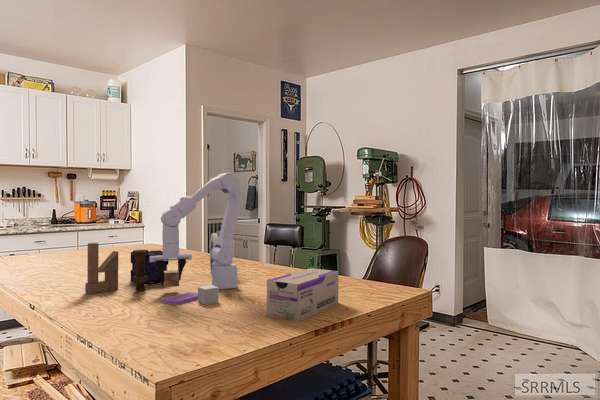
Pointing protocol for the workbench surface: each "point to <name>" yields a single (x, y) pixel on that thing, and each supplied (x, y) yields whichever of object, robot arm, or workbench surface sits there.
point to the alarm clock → (212, 243)
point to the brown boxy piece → (171, 278)
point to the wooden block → (107, 266)
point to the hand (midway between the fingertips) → (171, 280)
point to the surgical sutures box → (301, 294)
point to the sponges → (180, 298)
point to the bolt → (140, 269)
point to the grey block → (208, 294)
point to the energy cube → (149, 268)
